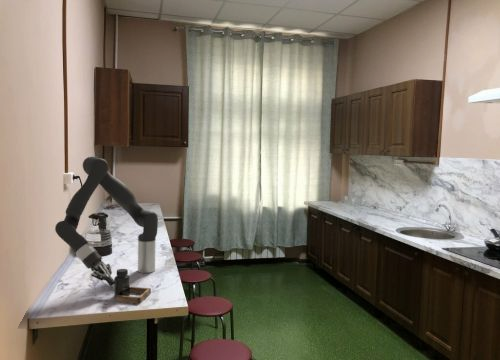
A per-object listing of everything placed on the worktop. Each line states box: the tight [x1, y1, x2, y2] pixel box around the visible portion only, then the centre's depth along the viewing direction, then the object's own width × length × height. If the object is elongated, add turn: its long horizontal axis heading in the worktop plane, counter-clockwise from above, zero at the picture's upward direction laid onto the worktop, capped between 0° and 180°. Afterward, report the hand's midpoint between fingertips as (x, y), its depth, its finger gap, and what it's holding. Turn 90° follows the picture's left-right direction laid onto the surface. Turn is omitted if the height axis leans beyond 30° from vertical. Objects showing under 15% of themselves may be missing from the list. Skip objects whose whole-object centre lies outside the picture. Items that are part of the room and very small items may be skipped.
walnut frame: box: [115, 286, 152, 305], centre depth 174 cm, size 12×11×2 cm
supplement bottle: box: [113, 268, 131, 298], centre depth 175 cm, size 7×7×12 cm
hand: (113, 284), depth 175 cm, fingers closed
